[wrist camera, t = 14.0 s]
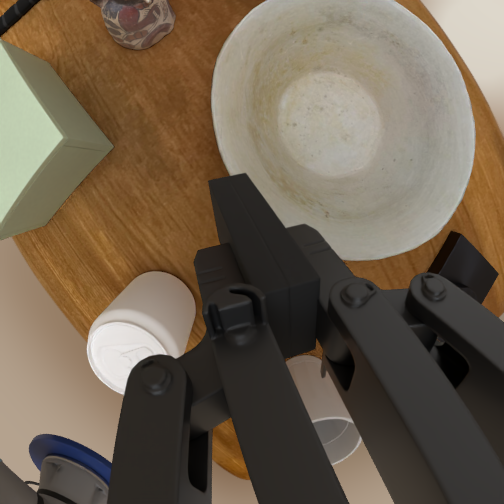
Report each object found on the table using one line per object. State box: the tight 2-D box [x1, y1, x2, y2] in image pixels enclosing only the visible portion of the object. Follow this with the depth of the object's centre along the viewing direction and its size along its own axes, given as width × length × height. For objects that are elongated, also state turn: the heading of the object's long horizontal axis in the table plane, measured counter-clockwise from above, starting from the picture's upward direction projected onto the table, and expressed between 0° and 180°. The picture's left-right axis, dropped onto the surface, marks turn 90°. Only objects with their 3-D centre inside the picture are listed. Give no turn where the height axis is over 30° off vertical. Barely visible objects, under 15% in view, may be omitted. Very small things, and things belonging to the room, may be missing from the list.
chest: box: [0, 40, 114, 240], centre depth 24 cm, size 16×13×10 cm
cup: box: [286, 355, 362, 465], centre depth 31 cm, size 8×8×12 cm
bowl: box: [211, 0, 475, 261], centre depth 25 cm, size 24×24×10 cm
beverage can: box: [87, 271, 196, 395], centre depth 28 cm, size 8×8×12 cm
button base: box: [427, 231, 498, 342], centre depth 33 cm, size 12×10×4 cm
